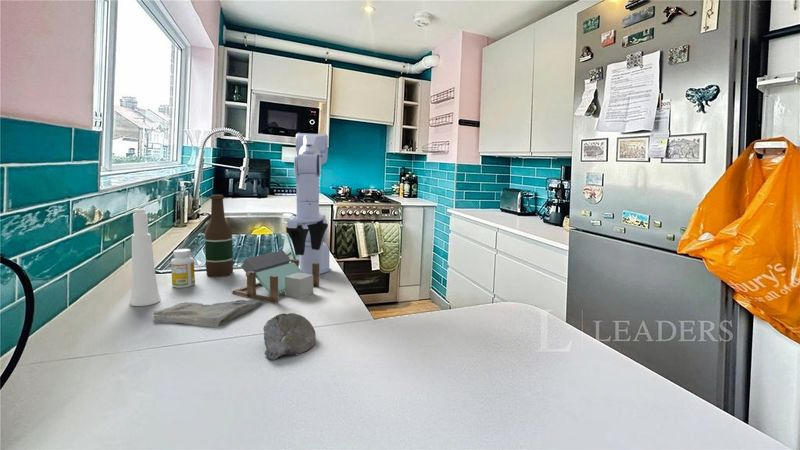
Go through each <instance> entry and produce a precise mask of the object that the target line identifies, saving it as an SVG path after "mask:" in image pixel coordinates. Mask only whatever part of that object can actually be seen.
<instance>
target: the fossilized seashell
mask: <svg viewBox="0 0 800 450" xmlns="http://www.w3.org/2000/svg"><path fill="white" fill-rule="evenodd" d="M262 329H263V341H264V342H263V343H264V346H265V351H264V355H265V357H267V358H268V359H270V360H271V361H275V360H277V359H278V358H279V357H281V356H285V355H287V356H297V355H296V354H299V355H301V354H300V353H302V354H304V353H306V352H308V351H310V350H311V349H312V348H313V347H314V345H315V344H316V341H317V339H316V337H317V336H316V330H315V328H314V326H313V324H312V323H311V322H310V320H308V319H307V318H306V317H305V316H304V315H301V314H299V313H298V314H297V313H295V312H290V313H279V314H276V316H274V317H272V318H270V319H268V320H267V321H266V323H265V324H264V326H263V328H262ZM307 350H308V351H307ZM305 351H306V352H305ZM303 352H304V353H303Z"/></svg>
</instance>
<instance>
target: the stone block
mask: <svg viewBox="0 0 800 450" xmlns="http://www.w3.org/2000/svg"><path fill="white" fill-rule="evenodd" d="M313 294H314V286H313V275H310V274H304V273H299V272H298V273H295V274H292V275H289V276H285V290H284V295H285V296H287V297H293V298H297V299H299V300H300V299H303V298H305V297H308V296H311V295H313Z"/></svg>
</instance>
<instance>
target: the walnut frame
mask: <svg viewBox="0 0 800 450" xmlns="http://www.w3.org/2000/svg"><path fill="white" fill-rule="evenodd" d="M292 262H294V263H295V264H296V265H297V266H298V268H299V269H300V258H297V259H291V261H290V263H292ZM312 275H313V287H314V288H315V287H316V288H318V287H320V274H319V263H312ZM245 277H246V286H243V287H240V288H235V289H234V290H232V291H231V292H232V294H233V295H237V296H240V297H245V298H251V299H253V300H257V301H262V302H263V301H264V302H268V303H271V304H277V303H279V293H278V276H275V275H272V276H270V294H269V296H267V295H262V294H258V293H257V288H259V287H263V286H262V284H261V283H260V282H259V281H258V282H257V278H256V272H253V271H247V273H246V272H245Z"/></svg>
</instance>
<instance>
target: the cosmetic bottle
mask: <svg viewBox="0 0 800 450" xmlns="http://www.w3.org/2000/svg"><path fill="white" fill-rule="evenodd" d="M133 211H134V213H133V214H132V220H133V221H132V222H133V234H131V286H130V287H131V291H130V299H129V305H130V306H133V307H144V306H145V307H146V306H151V305H154V304H157V303H159V302H160V301H161V297H160V292H159V288H158V282H157V275H156V268H155V260H154V259H155V258H154V251H153V244H152V242H153V241H152V234H151V233H149V221H148V220H149V219H148V213H147V212H146V211H147V210H146V208H134V209H133Z"/></svg>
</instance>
